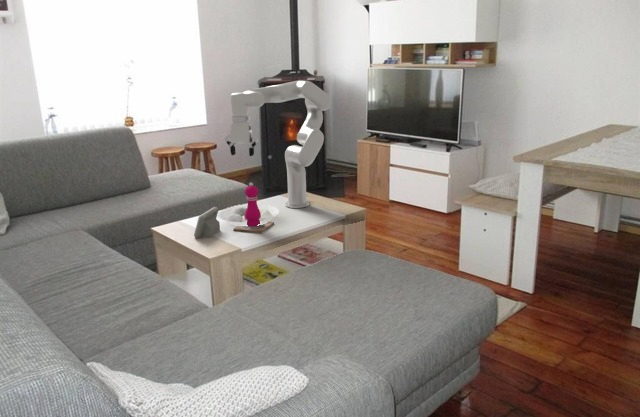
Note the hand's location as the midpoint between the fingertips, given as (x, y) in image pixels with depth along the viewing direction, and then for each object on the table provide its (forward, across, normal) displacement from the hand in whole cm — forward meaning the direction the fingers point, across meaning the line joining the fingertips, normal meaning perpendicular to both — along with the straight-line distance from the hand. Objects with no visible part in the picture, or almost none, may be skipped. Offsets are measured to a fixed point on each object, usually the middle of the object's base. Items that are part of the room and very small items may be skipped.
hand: (242, 155), depth 257 cm
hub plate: (+30, -12, +16) cm, 36 cm away
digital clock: (+31, +5, +29) cm, 43 cm away
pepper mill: (+29, -12, +16) cm, 35 cm away
